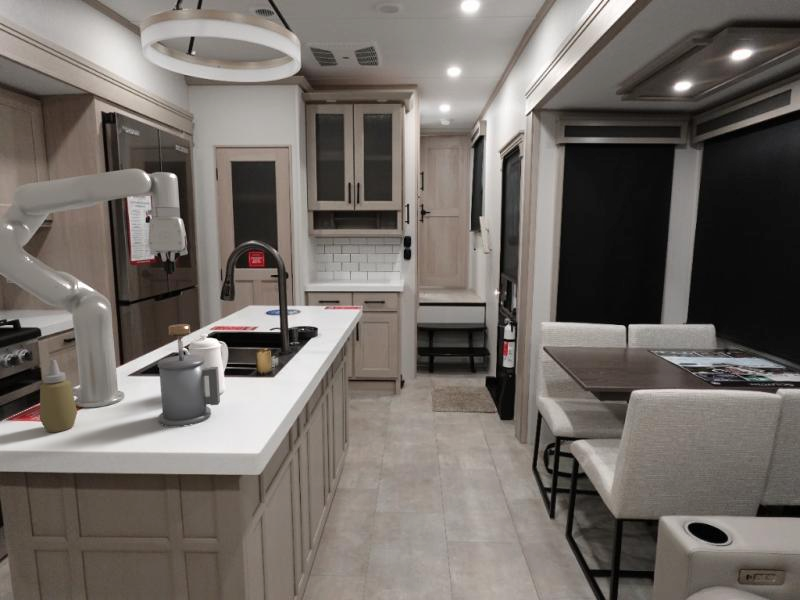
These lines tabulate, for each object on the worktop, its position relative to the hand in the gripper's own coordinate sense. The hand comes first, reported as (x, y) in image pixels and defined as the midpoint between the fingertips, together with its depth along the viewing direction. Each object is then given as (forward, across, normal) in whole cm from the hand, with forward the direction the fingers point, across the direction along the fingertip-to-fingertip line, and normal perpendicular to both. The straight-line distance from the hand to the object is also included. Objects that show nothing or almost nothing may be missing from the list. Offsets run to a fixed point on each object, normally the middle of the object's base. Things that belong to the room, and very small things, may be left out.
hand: (170, 273), depth 155 cm
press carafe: (+37, +10, -26) cm, 46 cm away
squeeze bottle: (+37, -21, -29) cm, 52 cm away
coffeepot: (+37, +10, -6) cm, 39 cm away
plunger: (+21, +9, -26) cm, 35 cm away
